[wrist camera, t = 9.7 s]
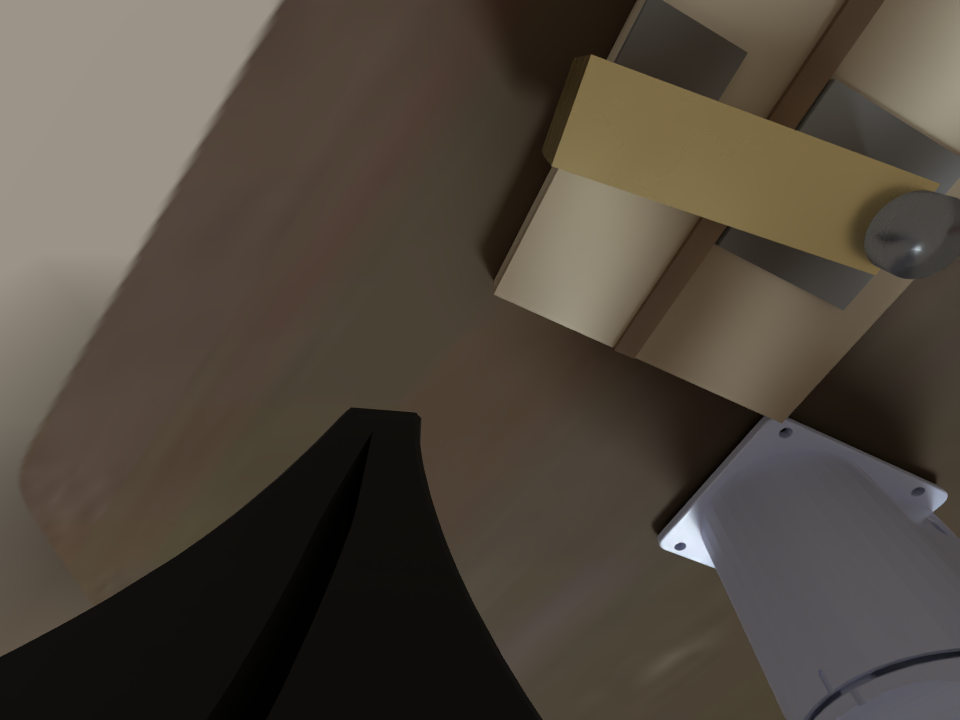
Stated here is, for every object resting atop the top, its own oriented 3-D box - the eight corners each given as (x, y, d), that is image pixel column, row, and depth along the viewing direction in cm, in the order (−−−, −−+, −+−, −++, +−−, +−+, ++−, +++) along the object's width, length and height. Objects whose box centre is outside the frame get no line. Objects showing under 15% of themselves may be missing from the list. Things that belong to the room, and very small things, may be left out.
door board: (1401, -316, 12) (1520, -366, 10) (766, 405, 21) (785, 428, 19) (1017, -748, 9) (1106, -885, 8) (493, 281, 18) (493, 297, 17)
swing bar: (897, 177, 15) (999, 202, 12) (845, 255, 16) (928, 296, 13) (573, 57, 14) (597, 52, 11) (540, 151, 15) (554, 171, 12)
